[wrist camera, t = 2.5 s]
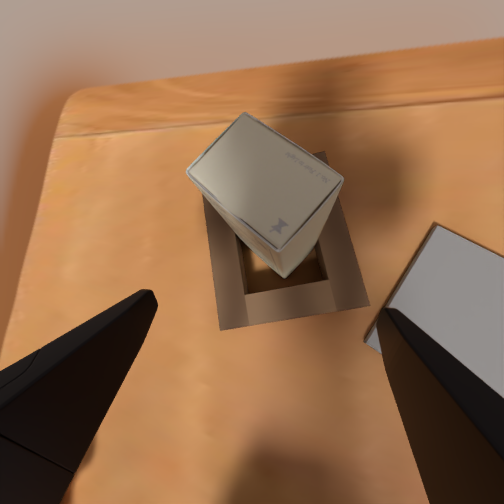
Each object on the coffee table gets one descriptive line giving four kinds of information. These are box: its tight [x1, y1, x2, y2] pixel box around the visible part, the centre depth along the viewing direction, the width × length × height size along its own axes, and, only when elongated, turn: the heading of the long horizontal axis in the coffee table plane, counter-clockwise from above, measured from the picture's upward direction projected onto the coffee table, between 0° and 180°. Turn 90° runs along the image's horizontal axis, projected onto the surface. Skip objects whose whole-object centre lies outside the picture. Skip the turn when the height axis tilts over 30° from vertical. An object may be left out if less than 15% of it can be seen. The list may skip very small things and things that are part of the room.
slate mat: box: [364, 226, 504, 398], centre depth 17 cm, size 12×12×1 cm
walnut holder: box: [203, 151, 370, 331], centre depth 20 cm, size 12×14×2 cm
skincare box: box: [186, 112, 344, 279], centre depth 15 cm, size 6×4×12 cm
